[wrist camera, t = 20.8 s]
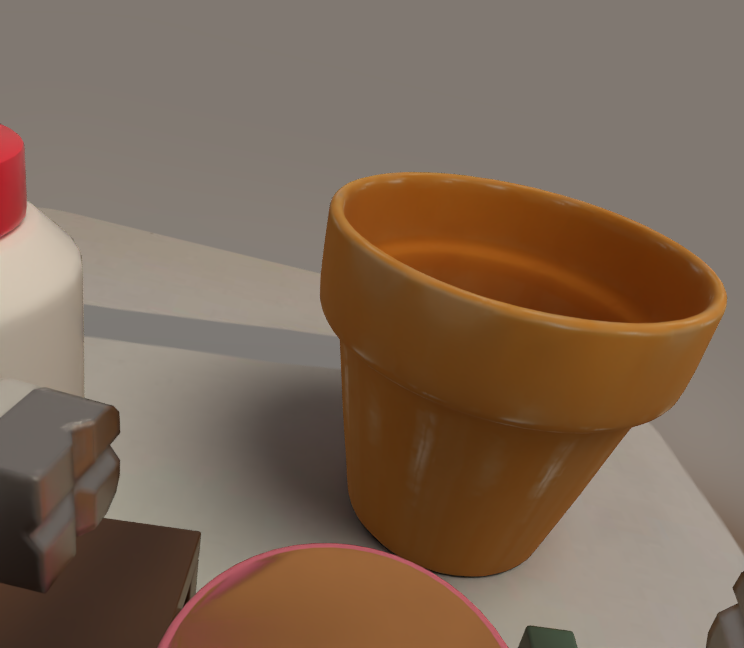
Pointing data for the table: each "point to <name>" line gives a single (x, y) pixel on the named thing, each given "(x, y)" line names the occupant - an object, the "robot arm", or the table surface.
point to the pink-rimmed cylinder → (329, 604)
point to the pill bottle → (37, 286)
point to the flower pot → (497, 355)
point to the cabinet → (107, 591)
